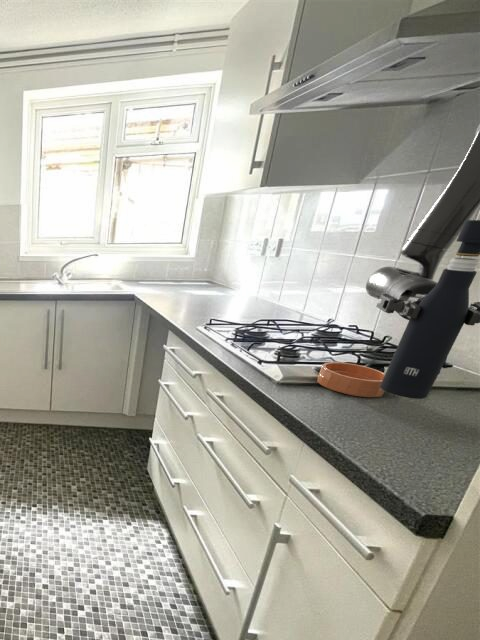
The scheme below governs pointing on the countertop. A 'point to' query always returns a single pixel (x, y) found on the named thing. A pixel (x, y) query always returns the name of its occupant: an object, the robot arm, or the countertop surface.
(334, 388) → the bowl
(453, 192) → the robot arm
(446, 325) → the dark water bottle
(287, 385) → the countertop surface
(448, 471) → the countertop surface
